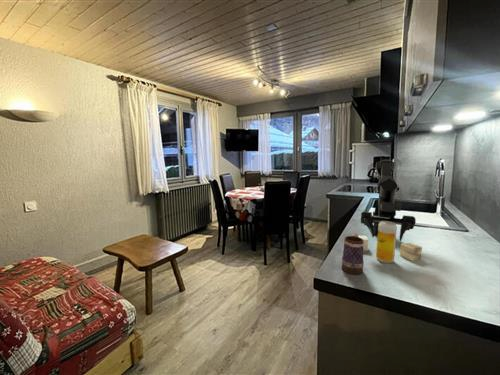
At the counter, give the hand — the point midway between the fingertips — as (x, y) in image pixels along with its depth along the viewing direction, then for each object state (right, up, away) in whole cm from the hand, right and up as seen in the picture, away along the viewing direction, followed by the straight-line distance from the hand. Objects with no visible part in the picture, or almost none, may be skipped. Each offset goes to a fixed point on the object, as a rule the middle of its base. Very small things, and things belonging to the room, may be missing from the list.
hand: (386, 238), depth 89 cm
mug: (-16, -10, -6) cm, 19 cm away
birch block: (+12, -8, +4) cm, 15 cm away
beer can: (0, -9, +1) cm, 9 cm away
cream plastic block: (-4, -7, +13) cm, 16 cm away
